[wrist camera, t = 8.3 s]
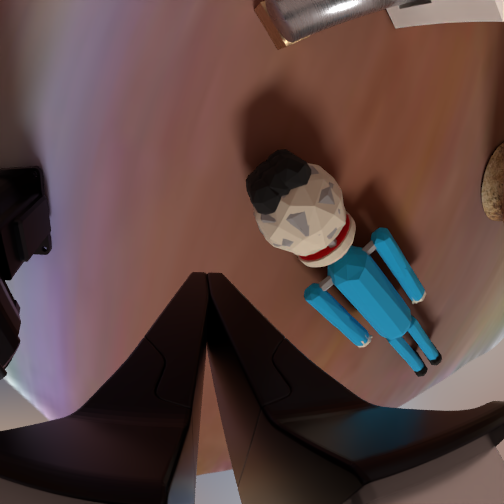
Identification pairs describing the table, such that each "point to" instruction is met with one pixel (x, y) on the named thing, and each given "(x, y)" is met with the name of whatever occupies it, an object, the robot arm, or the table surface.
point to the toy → (338, 254)
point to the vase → (494, 186)
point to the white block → (446, 12)
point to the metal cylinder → (312, 16)
